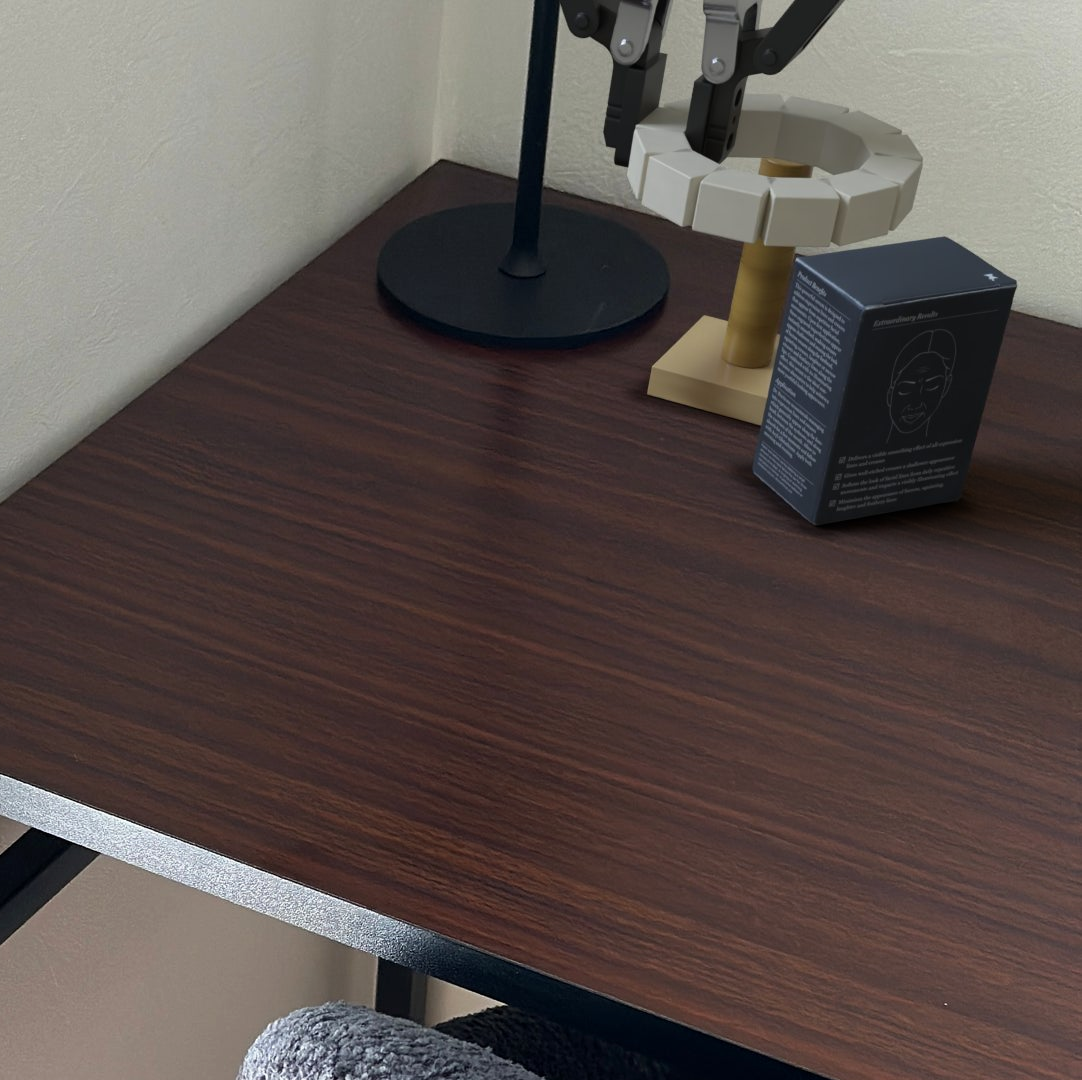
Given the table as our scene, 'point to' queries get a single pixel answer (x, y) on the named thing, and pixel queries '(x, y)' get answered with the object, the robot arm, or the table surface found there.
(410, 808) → the table surface
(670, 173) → the ring
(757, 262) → the post
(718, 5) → the robot arm
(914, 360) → the box
